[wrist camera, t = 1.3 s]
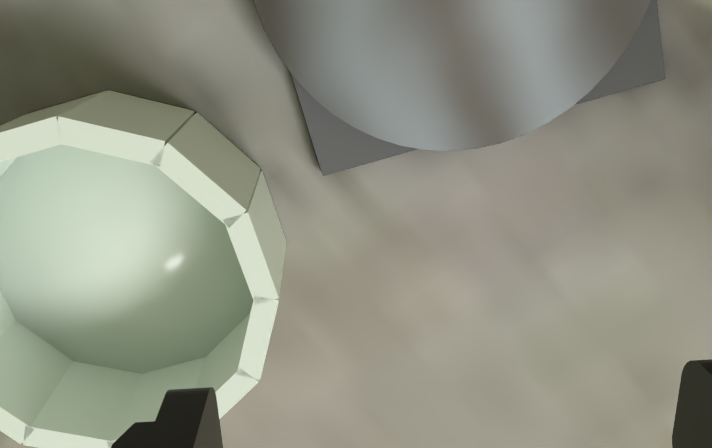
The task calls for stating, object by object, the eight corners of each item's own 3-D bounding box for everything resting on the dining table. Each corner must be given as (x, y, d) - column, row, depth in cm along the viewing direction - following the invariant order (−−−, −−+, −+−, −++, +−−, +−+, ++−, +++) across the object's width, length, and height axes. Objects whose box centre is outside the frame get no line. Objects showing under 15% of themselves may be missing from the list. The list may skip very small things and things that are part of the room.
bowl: (222, 56, 29) (198, 74, 23) (318, 336, 34) (317, 406, 28) (-87, 147, 30) (-182, 185, 24) (52, 408, 35) (-1, 490, 29)
